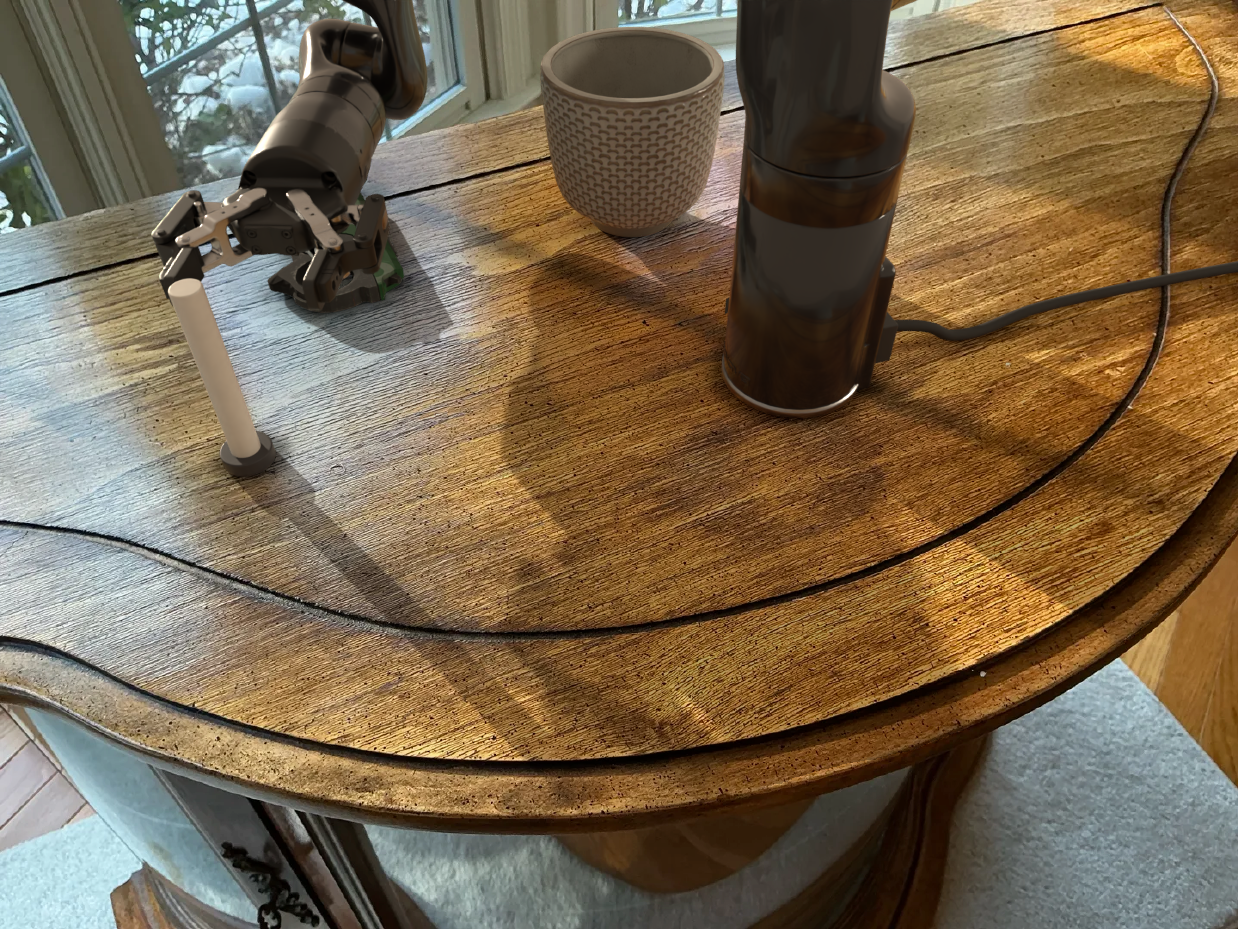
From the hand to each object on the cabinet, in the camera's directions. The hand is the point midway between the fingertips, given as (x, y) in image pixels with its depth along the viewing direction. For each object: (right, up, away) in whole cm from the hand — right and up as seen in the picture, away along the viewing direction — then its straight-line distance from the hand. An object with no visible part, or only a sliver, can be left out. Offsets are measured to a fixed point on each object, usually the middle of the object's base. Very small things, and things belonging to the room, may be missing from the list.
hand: (242, 297), depth 60 cm
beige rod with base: (0, -10, +2) cm, 10 cm away
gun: (-1, +6, +19) cm, 20 cm away
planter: (+24, +11, +23) cm, 35 cm away
